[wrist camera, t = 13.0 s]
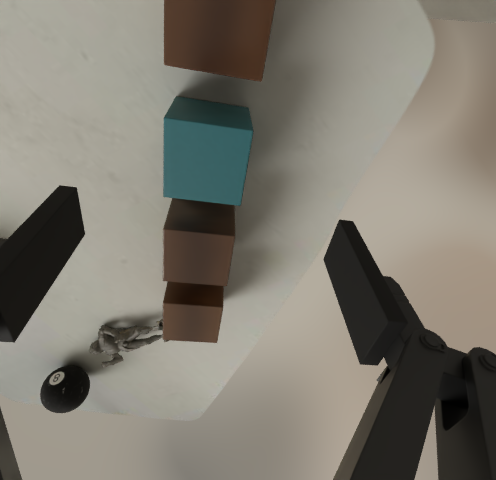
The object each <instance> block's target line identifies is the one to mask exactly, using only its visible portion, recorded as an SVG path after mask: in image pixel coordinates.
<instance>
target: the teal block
mask: <svg viewBox="0 0 496 480" xmlns="http://www.w3.org/2000/svg"><path fill="white" fill-rule="evenodd" d="M252 137H253V127H252V122H251V117H250V111H249V108H247V107H241V106H235V105H228V104H222V103H216V102H209V101H203V100H197V99H191V98H184V97H178V96H176V98H175V99H174V101H173V103H172V105H171V106H170V108H169V110H168V112H167V113H166V115H165V117H164V187H163V196H164V197H169V198H178V199H186V200H195V201H204V202H212V203H221V204H229V205H238V206H240V205H241V201H242V195H243V189H244V183H245V178H246V172H247V166H248V160H249V154H250V149H251V143H252Z"/></svg>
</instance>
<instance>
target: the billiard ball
mask: <svg viewBox="0 0 496 480" xmlns="http://www.w3.org/2000/svg"><path fill="white" fill-rule="evenodd" d="M89 389H90V380H89V377H88V375H87V373H86V372H85V371H84V370H83V369H81V368H79V367H76V366H64V367H61V368H58V369H57V370H55V371H53V372H52V373H51V374H50V375H49V376H48V377H47V378H46V379H45V381H44V383H43V385H42V388H41V393H40V397H41V402H42V404H43V405H44V407H45V408H46V409H48V410H50V411H52V412H55V413H66V412H70V411H72V410H74V409H76V408H77V407H79V406H80V405H81V404H82V403H83V402H84V400H85V399H86V397H87V395H88V393H89Z"/></svg>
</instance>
